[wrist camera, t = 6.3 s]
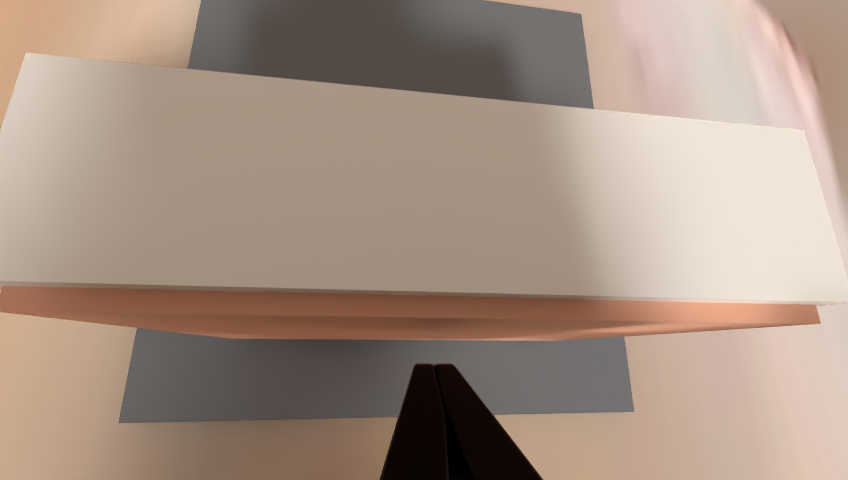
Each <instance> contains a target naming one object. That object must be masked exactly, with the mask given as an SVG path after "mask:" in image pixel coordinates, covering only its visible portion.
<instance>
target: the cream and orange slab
mask: <svg viewBox="0 0 848 480" xmlns="http://www.w3.org/2000/svg"><path fill="white" fill-rule="evenodd" d="M0 289H1V293H0V312H6V313H15V314H23V315H32V316H40V317H49V318H58V319H66V320H75V321H84V322H92V323H101V324H110V325H118V326H127V327H135V328H144V329H153V330H161V331H170V332H179V333H187V334H196V335H205V336H213V337H222V338H230V339H349V340H499V341H560V340H576V339H591V338H607V337H622V336H638V335H653V334H669V333H684V332H699V331H715V330H730V329H746V328H761V327H777V326H792V325H808V324H821V323H820V319H819V315H818V312H817V308H816V306H823V305H832V304H842V303H848V277H847V274H846V270H845V267H844V264H843V260H842V257H841V253H840V250H839V247H838V243H837V240H836V237H835V233H834V230H833V226H832V223H831V220H830V216H829V213H828V209H827V206H826V203H825V199H824V196H823V192H822V189H821V186H820V182H819V179H818V176H817V172H816V169H815V165H814V162H813V159H812V155H811V152H810V148H809V145H808V142H807V138H806V135H805V132H804V130H798V129H788V128H778V127H768V126H758V125H748V124H738V123H728V122H718V121H708V120H698V119H688V118H678V117H667V116H657V115H647V114H637V113H627V112H617V111H607V110H597V109H587V108H577V107H567V106H557V105H547V104H537V103H527V102H517V101H507V100H497V99H487V98H477V97H466V96H456V95H446V94H436V93H426V92H416V91H406V90H396V89H386V88H376V87H366V86H356V85H346V84H336V83H326V82H316V81H306V80H296V79H286V78H276V77H265V76H255V75H245V74H235V73H225V72H215V71H205V70H195V69H185V68H175V67H165V66H155V65H145V64H135V63H125V62H115V61H105V60H95V59H85V58H75V57H64V56H54V55H44V54H34V53H26V54H25V57H24V60H23V63H22V66H21V69H20V72H19V75H18V78H17V81H16V84H15V87H14V90H13V93H12V96H11V99H10V102H9V105H8V108H7V111H6V114H5V117H4V120H3V123H2V126H1V129H0Z"/></svg>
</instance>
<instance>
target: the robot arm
mask: <svg viewBox="0 0 848 480" xmlns="http://www.w3.org/2000/svg"><path fill="white" fill-rule="evenodd" d="M380 480H543V479H542V478H541V476H540V475H539V474H538V472H537V471H536V470H535V468H534V467H533V466H532V465H531V463H530V462H529V461H528V459H527V458H526V457H525V456H524V454H523V453H522V452H521V450H520V449H519V448H518V446H517V445H516V444H515V443H514V441H513V440H512V439H511V437H510V436H509V435H508V434H507V432H506V431H505V430H504V428H503V427H502V426H501V425H500V423H499V422H498V421H497V419H496V418H495V417H494V415H493V414H492V413H491V412H490V410H489V409H488V408H487V406H486V405H485V404H484V403H483V401H482V400H481V399H480V397H479V396H478V395H477V394H476V392H475V391H474V390H473V388H472V387H471V386H470V384H469V383H468V382H467V381H466V379H465V378H464V377H463V375H462V374H461V373H460V372H459V370H458V369H457V368H456V366H455V365H453V364H451V363H437V364H435V365H434V366H433V364H431V363H417V364H415V365H414V367H413V370H412V373H411V377H410V380H409V383H408V387H407V390H406V393H405V397H404V400H403V403H402V407H401V410H400V413H399V417H398V420H397V423H396V427H395V430H394V433H393V437H392V440H391V443H390V447H389V450H388V453H387V457H386V460H385V463H384V466H383V470H382V473H381V476H380Z"/></svg>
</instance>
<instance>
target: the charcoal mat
mask: <svg viewBox="0 0 848 480" xmlns="http://www.w3.org/2000/svg"><path fill="white" fill-rule="evenodd" d="M188 69H195V70H205V71H215V72H225V73H235V74H245V75H255V76H265V77H276V78H286V79H296V80H306V81H316V82H326V83H336V84H346V85H356V86H366V87H376V88H386V89H396V90H406V91H416V92H426V93H436V94H446V95H456V96H466V97H477V98H487V99H497V100H507V101H517V102H527V103H537V104H547V105H557V106H567V107H577V108H587V109H594V107H593V99H592V92H591V84H590V77H589V69H588V62H587V54H586V47H585V39H584V32H583V24H582V17H581V14H578V13H571V12H564V11H556V10H549V9H542V8H535V7H527V6H520V5H513V4H505V3H498V2H491V1H483V0H201V4H200V9H199V14H198V19H197V24H196V30H195V35H194V40H193V45H192V50H191V55H190V60H189V65H188ZM417 363H431V364H433V366H434V365H435V364H437V363H451V364H453V365H455V366H456V368H457V369H458V370H459V372H460V373H461V374H462V375H463V377H464V378H465V379H466V381H467V382H468V383H469V384H470V386H471V387H472V388H473V390H474V391H475V392H476V394H477V395H478V396H479V397H480V399H481V400H482V401H483V403H484V404H485V405H486V406H487V408H488V409H489V410H490V412H491V413H492V414H493V415H505V414H551V413H597V412H634V407H633V400H632V392H631V385H630V377H629V370H628V362H627V355H626V347H625V340H624V336H622V337H607V338H591V339H576V340H560V341H499V340H349V339H230V338H222V337H213V336H205V335H196V334H187V333H179V332H170V331H161V330H153V329H144V328H137V331H136V336H135V341H134V346H133V352H132V357H131V362H130V367H129V372H128V377H127V382H126V387H125V392H124V398H123V403H122V408H121V413H120V418H119V423H140V422H186V421H232V420H277V419H323V418H369V417H399V413H400V410H401V407H402V403H403V400H404V397H405V393H406V390H407V387H408V383H409V380H410V377H411V373H412V370H413V367H414V365H415V364H417Z"/></svg>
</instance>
